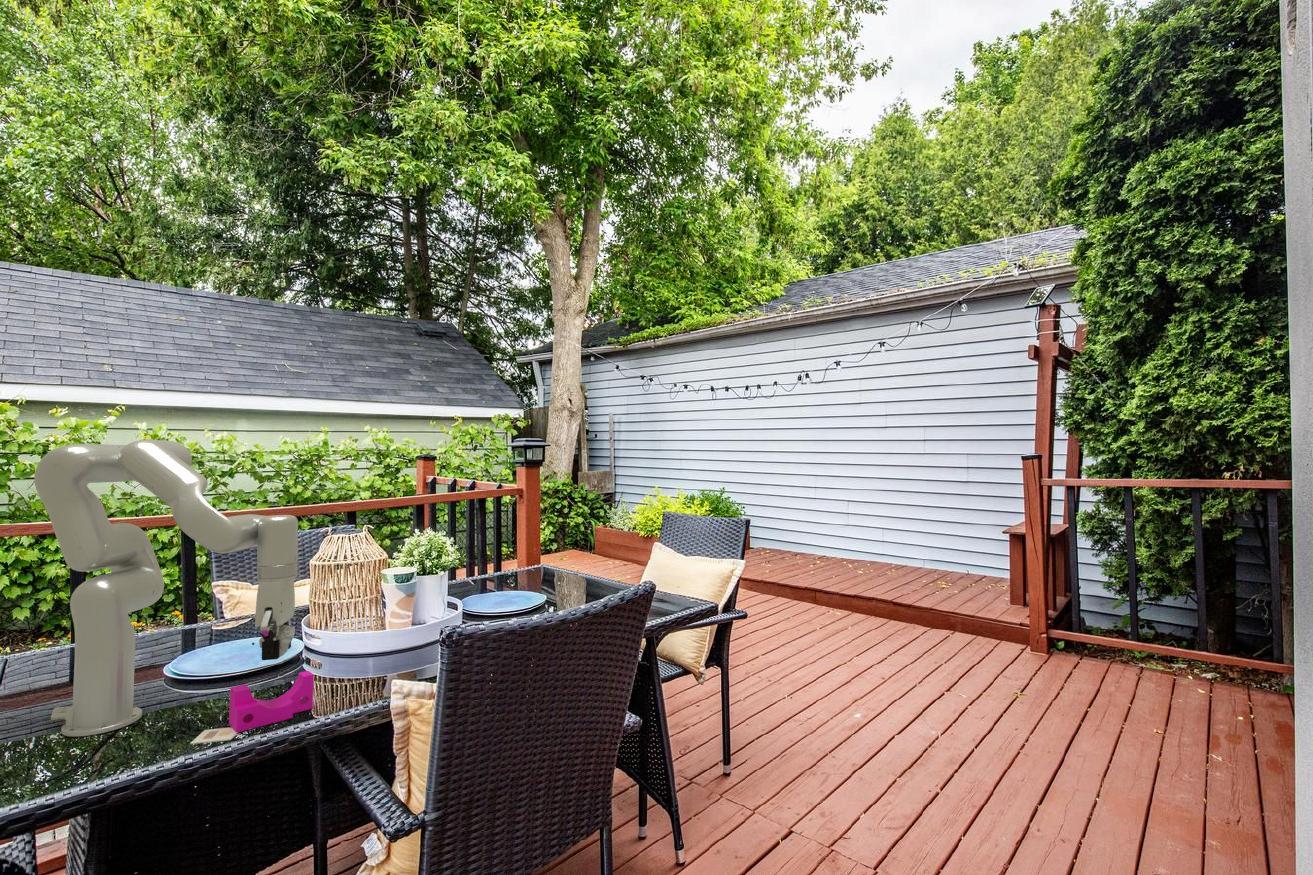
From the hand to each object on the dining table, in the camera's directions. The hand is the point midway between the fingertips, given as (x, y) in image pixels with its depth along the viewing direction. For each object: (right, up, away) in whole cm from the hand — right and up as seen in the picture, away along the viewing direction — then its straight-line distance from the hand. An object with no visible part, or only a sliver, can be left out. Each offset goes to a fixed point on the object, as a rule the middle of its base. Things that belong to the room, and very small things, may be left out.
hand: (276, 653), depth 131 cm
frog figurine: (0, -1, 0) cm, 1 cm away
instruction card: (-6, -14, -9) cm, 17 cm away
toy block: (0, -14, -1) cm, 14 cm away
